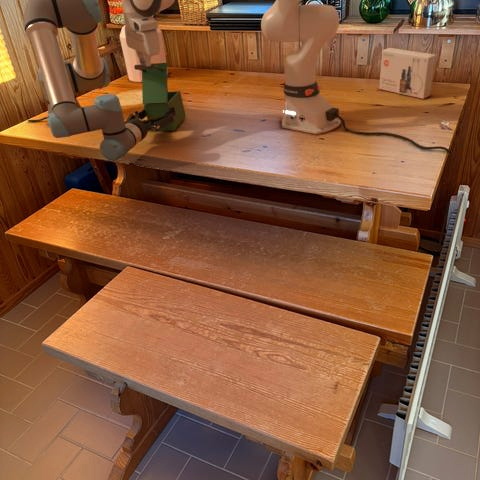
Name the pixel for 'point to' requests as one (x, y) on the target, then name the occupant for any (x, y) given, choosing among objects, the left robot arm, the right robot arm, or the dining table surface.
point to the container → (133, 59)
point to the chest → (162, 108)
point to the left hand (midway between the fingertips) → (161, 110)
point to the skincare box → (407, 72)
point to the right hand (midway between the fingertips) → (145, 64)
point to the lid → (154, 83)
